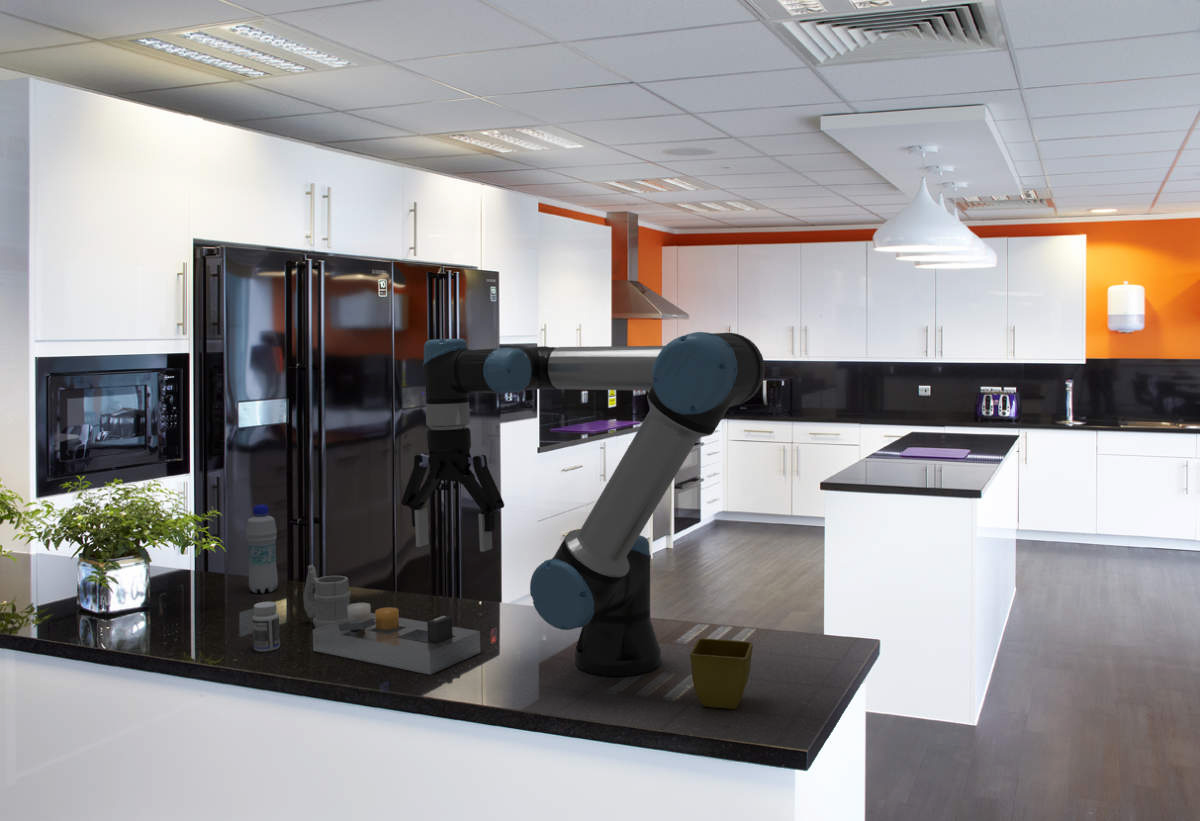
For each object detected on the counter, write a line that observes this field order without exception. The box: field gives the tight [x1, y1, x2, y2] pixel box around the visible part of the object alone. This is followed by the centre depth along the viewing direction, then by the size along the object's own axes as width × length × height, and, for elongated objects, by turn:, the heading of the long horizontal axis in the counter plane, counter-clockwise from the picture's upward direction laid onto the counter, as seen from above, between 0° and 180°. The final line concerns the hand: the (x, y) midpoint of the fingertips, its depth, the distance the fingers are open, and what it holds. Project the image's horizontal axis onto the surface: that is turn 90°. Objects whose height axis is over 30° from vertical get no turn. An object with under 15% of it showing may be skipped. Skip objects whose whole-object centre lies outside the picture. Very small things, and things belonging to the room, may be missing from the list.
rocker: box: [339, 618, 375, 631], centre depth 190 cm, size 6×3×1 cm, turn 59°
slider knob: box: [426, 615, 453, 643], centre depth 186 cm, size 2×4×5 cm, turn 149°
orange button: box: [374, 606, 400, 630], centre depth 193 cm, size 4×4×3 cm
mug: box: [302, 564, 352, 629], centre depth 209 cm, size 8×12×12 cm, turn 57°
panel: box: [312, 612, 481, 675], centre depth 192 cm, size 28×14×5 cm, turn 59°
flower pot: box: [689, 637, 754, 710], centre depth 163 cm, size 9×9×9 cm
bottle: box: [245, 504, 279, 594], centre depth 238 cm, size 7×7×20 cm
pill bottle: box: [251, 601, 281, 653], centre depth 195 cm, size 5×5×8 cm
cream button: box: [347, 602, 372, 621], centre depth 196 cm, size 4×4×3 cm
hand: (453, 547), depth 184 cm, fingers open, 13 cm apart
